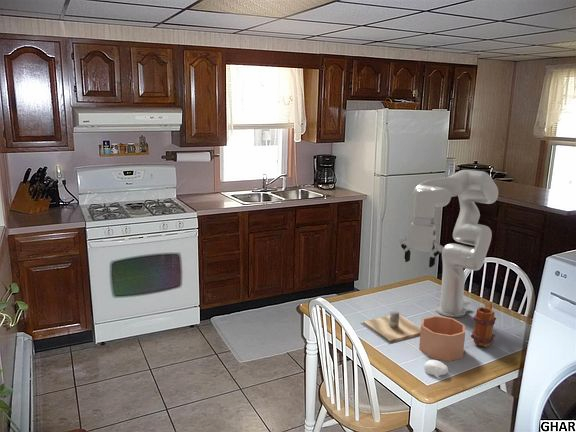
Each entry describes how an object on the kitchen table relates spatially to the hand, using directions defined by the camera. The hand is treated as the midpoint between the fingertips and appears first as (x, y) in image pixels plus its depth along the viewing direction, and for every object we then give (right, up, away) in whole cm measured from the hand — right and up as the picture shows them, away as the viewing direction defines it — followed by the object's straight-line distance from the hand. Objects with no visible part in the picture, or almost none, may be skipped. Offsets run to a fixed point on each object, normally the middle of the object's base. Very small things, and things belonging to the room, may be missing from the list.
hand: (419, 263), depth 182 cm
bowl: (+7, -32, -3) cm, 33 cm away
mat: (-7, -29, +13) cm, 32 cm away
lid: (-7, -28, +13) cm, 32 cm away
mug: (+26, -31, +3) cm, 41 cm away
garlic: (+1, -36, -18) cm, 41 cm away
